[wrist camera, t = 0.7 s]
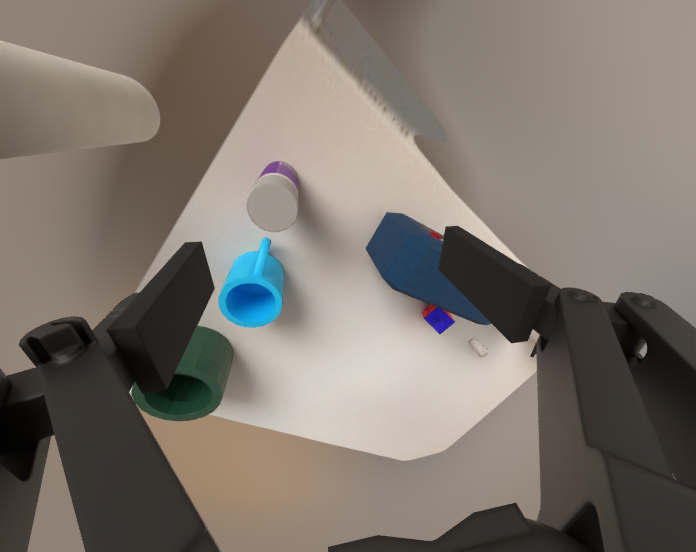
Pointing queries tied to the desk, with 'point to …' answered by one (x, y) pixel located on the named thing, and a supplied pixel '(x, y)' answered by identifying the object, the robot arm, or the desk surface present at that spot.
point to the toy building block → (438, 318)
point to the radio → (417, 265)
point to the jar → (192, 380)
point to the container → (274, 198)
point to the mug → (253, 288)
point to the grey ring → (478, 347)
